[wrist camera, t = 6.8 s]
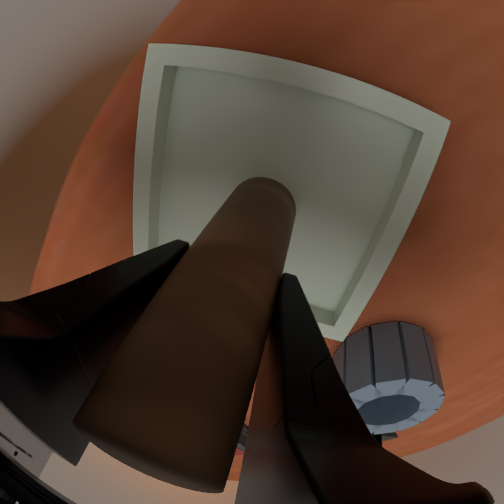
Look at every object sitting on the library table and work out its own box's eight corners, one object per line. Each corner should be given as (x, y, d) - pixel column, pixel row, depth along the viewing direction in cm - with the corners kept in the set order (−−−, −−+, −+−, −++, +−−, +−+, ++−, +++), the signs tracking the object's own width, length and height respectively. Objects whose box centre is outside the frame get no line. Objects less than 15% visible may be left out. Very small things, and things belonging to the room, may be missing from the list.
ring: (450, 334, 16) (465, 386, 13) (398, 391, 21) (401, 437, 17) (362, 310, 17) (366, 369, 13) (319, 375, 21) (313, 426, 17)
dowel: (304, 188, 12) (236, 479, 3) (285, 246, 14) (215, 498, 5) (236, 168, 12) (50, 395, 3) (224, 228, 14) (93, 449, 5)
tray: (436, 116, 10) (451, 121, 9) (342, 320, 18) (342, 341, 16) (167, 46, 11) (148, 43, 10) (148, 259, 19) (134, 275, 17)
